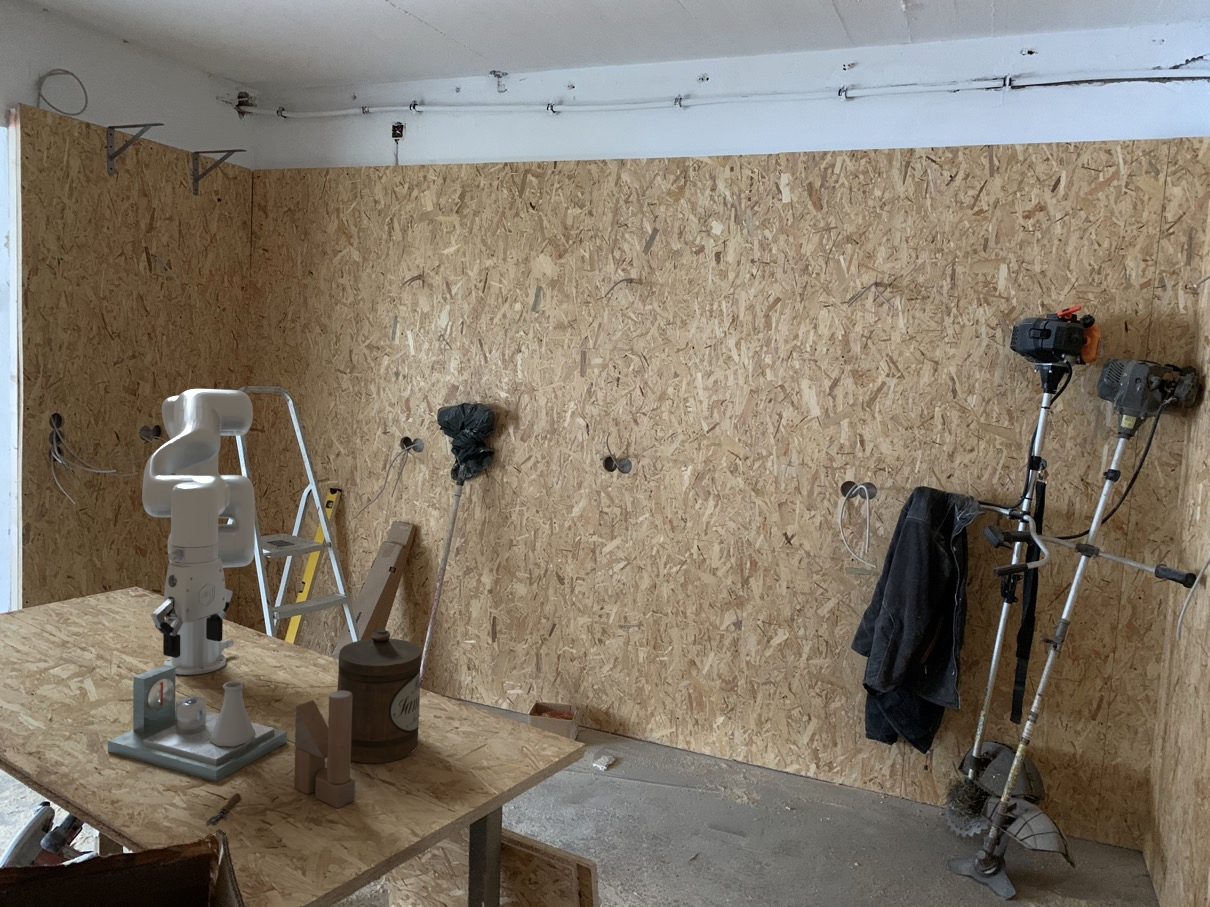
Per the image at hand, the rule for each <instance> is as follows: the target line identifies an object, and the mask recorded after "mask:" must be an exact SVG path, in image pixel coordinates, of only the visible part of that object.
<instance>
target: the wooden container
mask: <svg viewBox="0 0 1210 907" xmlns="http://www.w3.org/2000/svg"><path fill="white" fill-rule="evenodd" d="M370 636H371V638H367V639H366V638H365V639H361V640H356V641H353V642H350V643H347V644H345V645H344V646H343V647H341V648H340V650H339V654H338V672H337V673H338V674H337V676H338V677H337V688H336V689H337V690H336V691H340V690H344V691H349V692H351V693H352V695H353V697H352V731H351V762H353V763H354V762H355V763H358V764H359V763H361V764H385V763H389V762H390V761H391V762H395V761H398V760H401V759H403V757H404V758H406V757H407V755H408V754H409V755H411V754H412V753H413V752H414V751H415V750H416V749H417V747H418V743H419V742H418V740H419V723H420V701H421V699H420V697H421V696H420V695H421V669H422V668H421V666H422V649H421V647H420V646H419V645H417V644H416V643H414V642H411V641H408V640H404V639H398V638H391V633H390V631H388V630H387V629H384V628H378V629H377V630H375V631H373V632H372V633H371V635H370ZM416 746H417V747H416ZM415 748H416V749H415ZM414 749H415V750H414ZM413 750H414V751H413ZM412 751H413V752H412ZM411 752H412V753H411ZM410 753H411V754H410ZM409 755H408V756H409ZM405 756H406V757H405Z"/></svg>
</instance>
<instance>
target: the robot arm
mask: <svg viewBox="0 0 1210 907" xmlns="http://www.w3.org/2000/svg"><path fill="white" fill-rule="evenodd" d="M253 409H254V408H253V403H252V401H251V398H250V396H249V395H248V394H247V392H244V391H241V390H237V389H236V390H235V389H220V388H219V389H215V388H213V389H212V388H193V389H192V388H191V389H188V390H185V391H183V392H181V393H180V394H179V395H173V396H170V397H168V398H166V399H165V400H164V401H163V402H162V406H161V416H162V422H163V426H164V429H165V431H166V433H167V436H168V438H169V440H168V441H166V442H165V443H163V444H162V445H161V446H160V447H159V448H158V449H156V450H155V451H154V452H153V453H152V454H151V456H150V457H149V458H148V460H147V462H146V463H145V467H144V471H143V481H142V489H141V490H142V492H141V501H142V506H143V509H144V511H145V512H146V513H147V514H148V515H149V516H151V517H154V518H170V533H169V535H168V537H167V553H168V554H167V557H168V561H169V563H168V566H167V569H166V570H167V572H166V577H165V584H164V594H163V595H164V596H163V603H162V604H160V606H159V607H158V608H156V609H155V610H154V611H153V612H152V613H151V619H152V621H153V624H154V625H155V626H154V627H155V628H156V629H157V630H158V631H159V634H162V635H163V637H162V638H163V639H162V640H163V642H162V643H163V646H162V647H163V648H162V650H163V651H162V652H163V655H164V656H165V657H168V658H166V659H165V660H164V662H163V665H169V666H173V667H176V675H178V676H179V675H183V676H192V675H193V676H195V675H201V674H207V673H211V672H215V671H218V670H219V669H221V668H223V667H224V666H225V665H226V663H227V657H226V656H225V655H224V654H222V653H223V651H224V650H225V649H228V648H230V647H233V646H234V644H235V642H234V639H233V638H230V637H229V638H227V639H224V640H223V635H224V634H223V633H224V632H223V623H224V622H223V620H224V619H225V618H226V616H227V615H226V613H227V611H228V609H229V607H230V602H231V599H232V597H233V593H234V592H233V590H230V589H227V588H226V580H225V572H224V568H238V567H239V568H240V567H241V568H242V567H246V566H248V565H250V564H251V563H252V561H253V559H254V557H255V549H256V536H255V535H256V533H255V532H256V531H255V530H256V528H255V527H256V525H255V524H256V520H255V518H256V517H255V516H256V514H255V513H256V509H255V506H256V505H255V504H256V502H255V501H256V500H255V488H254V486H253V483H252V481H251V479H250V478H248V477H247V476H245V475H238V474H220V473H219V452H220V450H221V447H222V446H221V436H227V437H228V436H229V437H230V436H234V437H235V436H236V437H240V436H245V435H246V434H247V433H249V430H250V428H252V427H251V426H252V424H253V418H254V410H253ZM219 519H230V520H231V521H232V522H233V523H231V524H230V523H228V524H227V523H226V524H225V523H223V524H221V523H220V524H219ZM163 665H162V666H163Z"/></svg>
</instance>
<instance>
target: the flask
mask: <svg viewBox="0 0 1210 907" xmlns="http://www.w3.org/2000/svg"><path fill="white" fill-rule="evenodd" d="M244 686H245V685H244V682H242V681H241V680H231V681H228V682H225V683H224V684H223V685H222V688H223V690H224V697H223V703H222V706H221V708H220V712H219V713H218V714H219V717H218V719H217V722H216V724H215V727H214V729H213V731H212V734H211V736H210V739H209V741H210V742H212V743H214V744H216V745H217V746H232V747H235V746H238V745H241V744H244V743H247V742H250V740H251V739H252V738H253V737H254V736H255V735H256V733H255V731H254V728H253V726H252V724H251V723H252V721H251V719H250V716H249V714H248V712H247V708H246V706H245V704H244V698H243V687H244Z"/></svg>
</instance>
